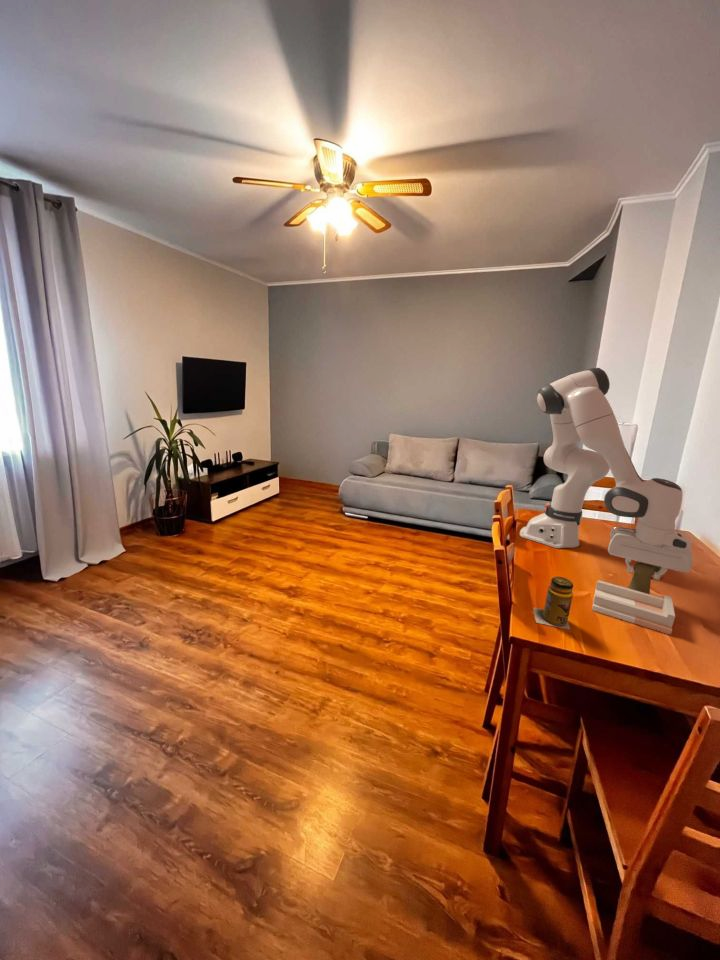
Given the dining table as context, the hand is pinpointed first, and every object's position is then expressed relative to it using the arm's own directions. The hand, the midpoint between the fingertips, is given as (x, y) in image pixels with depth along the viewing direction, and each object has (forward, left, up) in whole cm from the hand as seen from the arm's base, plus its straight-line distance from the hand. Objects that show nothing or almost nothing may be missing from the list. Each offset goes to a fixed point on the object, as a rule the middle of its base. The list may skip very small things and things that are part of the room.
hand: (642, 575), depth 116 cm
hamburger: (+4, +20, -7) cm, 22 cm away
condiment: (-20, -30, -7) cm, 37 cm away
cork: (0, 0, -7) cm, 7 cm away
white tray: (-2, -11, -7) cm, 13 cm away
